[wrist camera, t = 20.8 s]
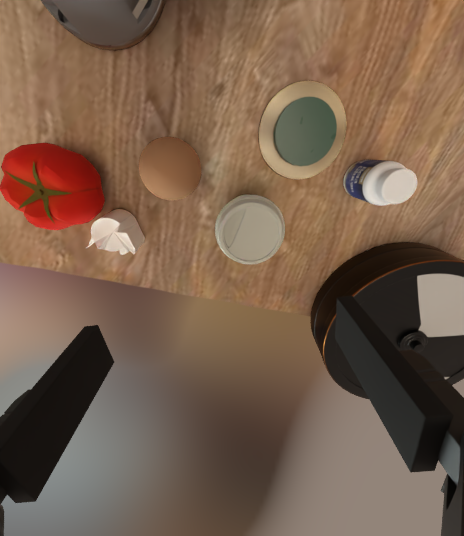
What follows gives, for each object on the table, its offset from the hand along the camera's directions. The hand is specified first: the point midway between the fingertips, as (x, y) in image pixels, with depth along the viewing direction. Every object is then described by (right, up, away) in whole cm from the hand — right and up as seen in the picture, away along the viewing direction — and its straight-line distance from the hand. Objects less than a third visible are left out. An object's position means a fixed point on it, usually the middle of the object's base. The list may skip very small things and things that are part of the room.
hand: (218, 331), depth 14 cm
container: (+30, -9, +25) cm, 40 cm away
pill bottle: (+20, +17, +24) cm, 36 cm away
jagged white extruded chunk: (-18, +9, +27) cm, 34 cm away
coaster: (+11, +22, +21) cm, 33 cm away
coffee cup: (+3, +12, +26) cm, 29 cm away
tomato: (-23, +16, +24) cm, 37 cm away
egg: (-7, +18, +23) cm, 31 cm away
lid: (+11, +21, +19) cm, 31 cm away
